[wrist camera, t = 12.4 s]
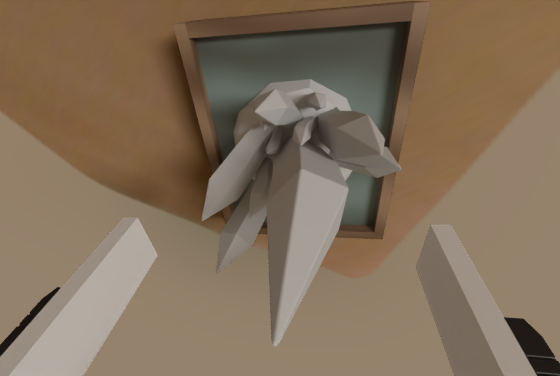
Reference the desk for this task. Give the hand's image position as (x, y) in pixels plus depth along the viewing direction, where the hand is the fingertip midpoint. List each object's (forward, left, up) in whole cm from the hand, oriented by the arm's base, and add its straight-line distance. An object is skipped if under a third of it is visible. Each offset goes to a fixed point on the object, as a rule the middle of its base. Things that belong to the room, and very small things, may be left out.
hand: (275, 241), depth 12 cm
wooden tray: (0, 0, -13) cm, 13 cm away
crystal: (+1, 0, -10) cm, 10 cm away
